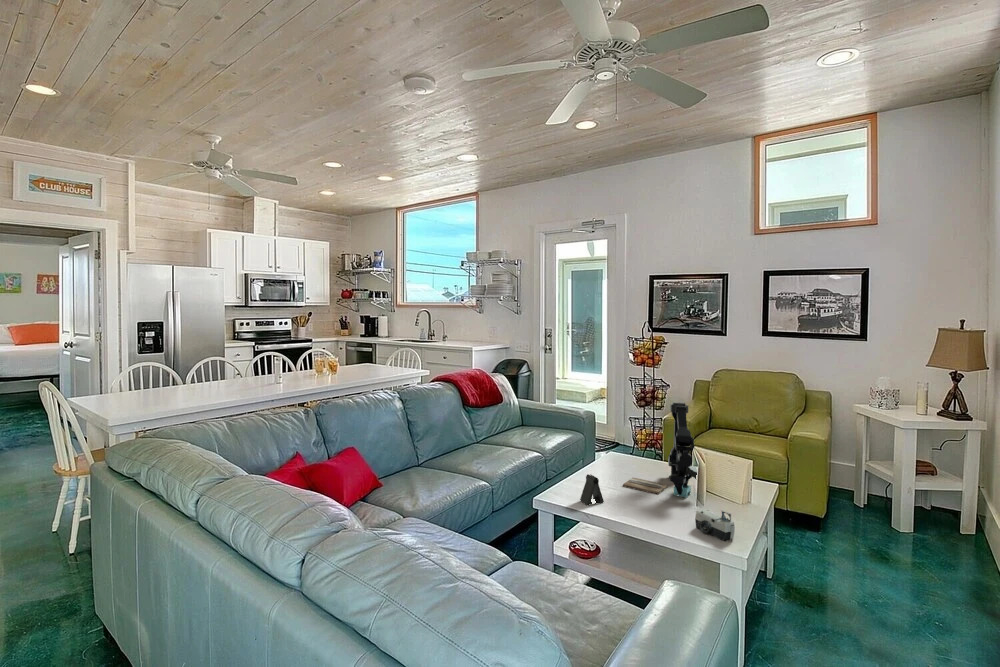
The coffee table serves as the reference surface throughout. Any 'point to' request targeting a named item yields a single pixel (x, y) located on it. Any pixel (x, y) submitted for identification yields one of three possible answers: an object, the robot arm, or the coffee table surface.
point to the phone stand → (591, 490)
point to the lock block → (683, 490)
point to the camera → (715, 524)
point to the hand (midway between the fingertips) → (682, 492)
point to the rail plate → (645, 485)
